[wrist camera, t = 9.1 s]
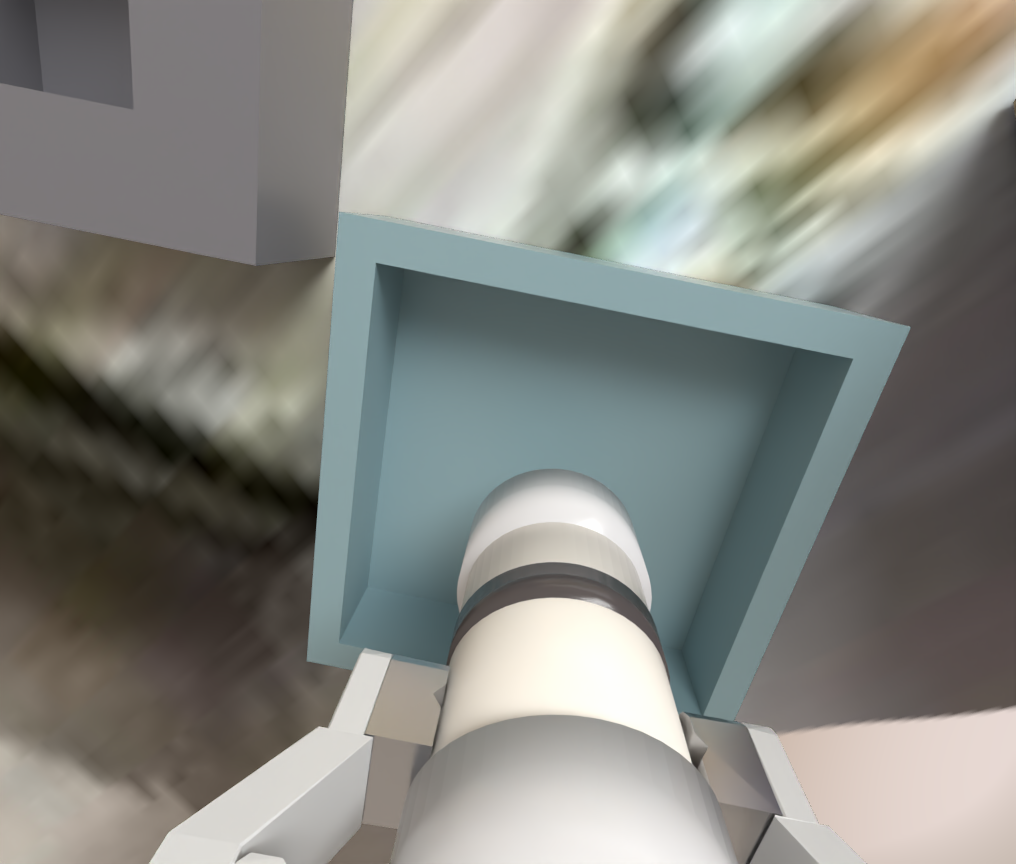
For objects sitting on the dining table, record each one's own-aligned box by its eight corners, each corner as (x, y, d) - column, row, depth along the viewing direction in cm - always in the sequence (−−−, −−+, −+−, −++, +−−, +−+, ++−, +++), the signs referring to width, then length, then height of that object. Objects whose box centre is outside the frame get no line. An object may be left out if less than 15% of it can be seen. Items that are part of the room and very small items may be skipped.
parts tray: (830, 305, 17) (911, 326, 13) (692, 657, 22) (722, 745, 18) (385, 215, 17) (339, 211, 13) (348, 587, 22) (306, 660, 18)
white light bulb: (654, 487, 14) (886, 1009, 5) (611, 625, 15) (717, 1231, 6) (485, 453, 14) (366, 910, 4) (457, 595, 15) (327, 1158, 6)
